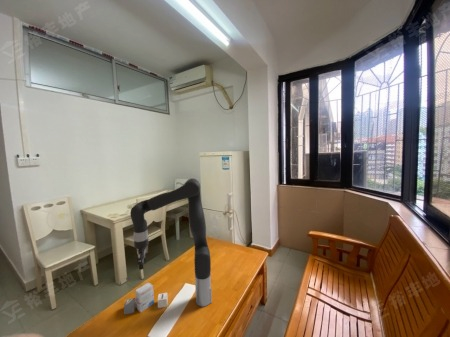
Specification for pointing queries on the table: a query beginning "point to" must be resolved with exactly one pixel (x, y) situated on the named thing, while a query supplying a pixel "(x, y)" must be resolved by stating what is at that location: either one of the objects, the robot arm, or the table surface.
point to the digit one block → (162, 300)
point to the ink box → (144, 297)
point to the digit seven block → (130, 306)
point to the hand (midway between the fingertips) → (142, 264)
